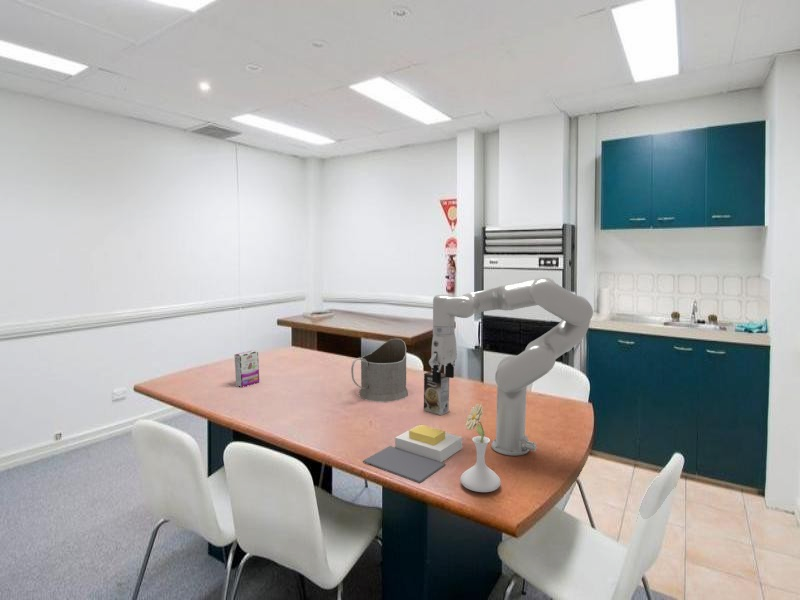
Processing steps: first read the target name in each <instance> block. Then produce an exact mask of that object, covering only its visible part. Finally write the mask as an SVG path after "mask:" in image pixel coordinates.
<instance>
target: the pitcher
mask: <svg viewBox="0 0 800 600" xmlns="http://www.w3.org/2000/svg"><path fill="white" fill-rule="evenodd" d="M358 360H360V378H361V379H360V383H361V384H360V385H359V384H358V383H357V382H356V380H355V376H354V375H355V374H354V366H355V363H356V362H357V361H358ZM350 372H351V378H352V382H353V383H354V385H356V386H357V387H358V388H360V391H359V393H358V395H360V396H359V398H361V399H363V400H365V399H366V401H369V402H376V403H377V402H379V403H389V402H397V401H400V400H403V399H406V398H408V396H409V394H408V393H409V391H408V389H407V346H406V343H405V341H403V340H402V339H401V338H391V339H389V340H387V341H385V342H384V343H383V344H381V345H380V346H379V347H378V348H376V349H375V350H374V351H372V352H371V353H368V354H365V355H363V356H362V357H357V358H355V359H354V360H353V362H352V364H351V369H350ZM405 397H406V398H405Z"/></svg>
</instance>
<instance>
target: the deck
mask: <svg viewBox="0 0 800 600" xmlns="http://www.w3.org/2000/svg"><path fill="white" fill-rule="evenodd" d="M417 426H419V425H415V426H414V427H412V428H411V429H409V430H407V431H404V432H403V433H401V434H400V435H397V436H395V437H394V447H395V448H399V449H402V450H405V451H408V452H411V453H414V454H417V455H420V456H424V457H427V458H430V459H433V460H436V461H439V462H442V463H444V461H446V460H447V459H449V458H450V457H451V456H453V455H455V454H456V453H457V452H458V453H459V451H461V450H462V449H463V436H460V435H456V434H452V433H448V432H446V431H445V439H444V440H442V441H440V442H439V443H437V444H435V445H431V444H428V443H424V442H421V441H418V440H414V439H411V438H409V431H410V430H412V429H413V428H415V427H417Z"/></svg>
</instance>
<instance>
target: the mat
mask: <svg viewBox="0 0 800 600" xmlns="http://www.w3.org/2000/svg"><path fill="white" fill-rule="evenodd" d="M363 462H365V463H364V464H366V463H368V464H367V465H369V464H371V465H370V466H372V465H374V466H376V467H375V468H377V467H379V468H378V469H380V468H381V469H380V470H383V469H384V470H383V471H385V470H387V471H386V472H388V471H389V472H388V473H391V472H392V473H391V474H394V475H396V474H398V475H397V476H399V475H400V476H399V477H402V476H403V477H402V478H404V479H407V478H408V479H407V480H410V481H413V482H416V483H418V484H421V483H422V482H424V481H425V480H427V479H428V478H429V477H431V476H433V474H435V473H437V472H438V471H440V470H441V469H442V468H443V467H445V466H446V463H445V462H439V461H436V460H433V459H430V458H427V457H424V456H420V455H417V454H414V453H411V452H408V451H405V450H402V449H399V448H395V446H392V445H389V446H387V447H385V448H383V449H381V450H379V451H378V452H375V453H374V454H373V455H370V456H369V457H366V458H364V459H363V460H362V463H363ZM374 466H373V467H374Z"/></svg>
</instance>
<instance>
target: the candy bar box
mask: <svg viewBox="0 0 800 600" xmlns="http://www.w3.org/2000/svg"><path fill="white" fill-rule="evenodd" d="M234 368H235V372H234V374H235V386H236V385H237V386H236V387H238V386H241V387H240V388H244V387H243V386H245V387H248V386H247V385H249V386H251V385H250V384H252V385H255V384H258V383H260V369H259V368H260V366H259V351H258V350H252V349H251V350H249V351H243V352H239V353H236V354H234ZM257 382H258V383H257ZM254 383H255V384H254Z"/></svg>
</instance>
